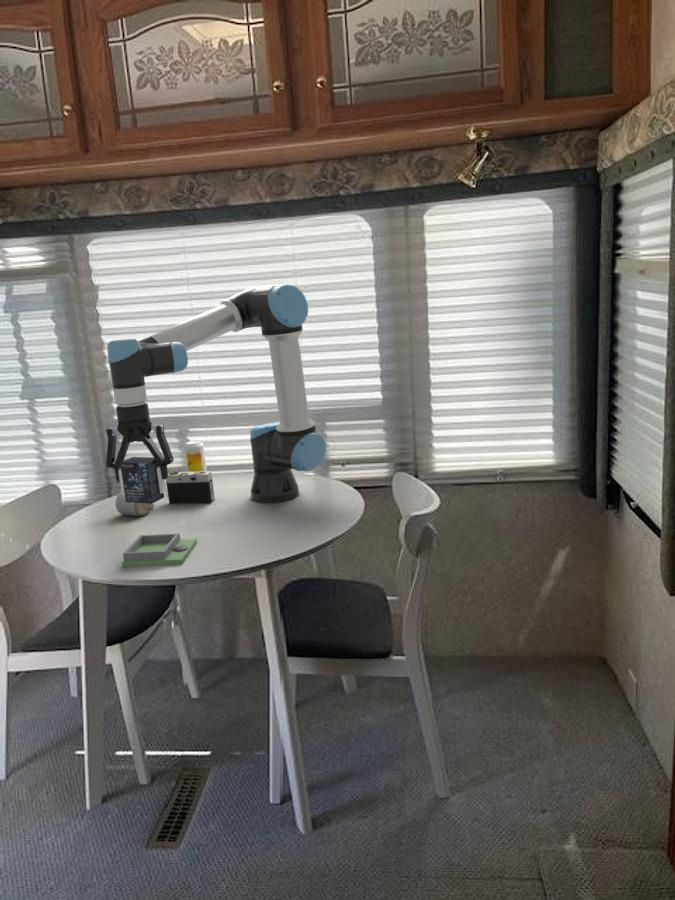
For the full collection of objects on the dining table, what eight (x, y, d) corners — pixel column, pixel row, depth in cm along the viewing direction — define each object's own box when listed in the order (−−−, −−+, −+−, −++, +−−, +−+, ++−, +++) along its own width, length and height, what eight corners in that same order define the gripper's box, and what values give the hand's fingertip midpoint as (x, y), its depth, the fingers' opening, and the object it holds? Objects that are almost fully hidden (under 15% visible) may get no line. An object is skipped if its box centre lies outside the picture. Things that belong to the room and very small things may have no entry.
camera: (219, 495, 224) (215, 466, 221) (210, 504, 216) (206, 473, 214) (178, 496, 226) (174, 467, 224) (168, 504, 218) (164, 474, 216)
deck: (197, 542, 183) (195, 531, 182) (182, 564, 169) (180, 551, 169) (141, 545, 184) (140, 534, 183) (122, 566, 171) (121, 554, 170)
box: (125, 503, 172) (119, 462, 170) (139, 496, 177) (133, 456, 175) (151, 504, 169) (145, 462, 167) (165, 497, 174) (159, 456, 172)
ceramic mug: (137, 519, 206) (134, 495, 204) (116, 517, 209) (113, 493, 208) (161, 509, 215) (158, 485, 213) (140, 507, 219) (137, 483, 217)
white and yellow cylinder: (193, 482, 242) (188, 440, 238) (210, 481, 241) (205, 440, 237) (187, 487, 236) (182, 444, 232) (204, 487, 235) (199, 444, 231)
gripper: (179, 398, 171) (191, 486, 176) (94, 403, 172) (107, 490, 177) (170, 403, 163) (182, 495, 168) (81, 409, 165) (96, 499, 170)
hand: (144, 492), depth 173 cm, fingers closed on box, 9 cm apart
